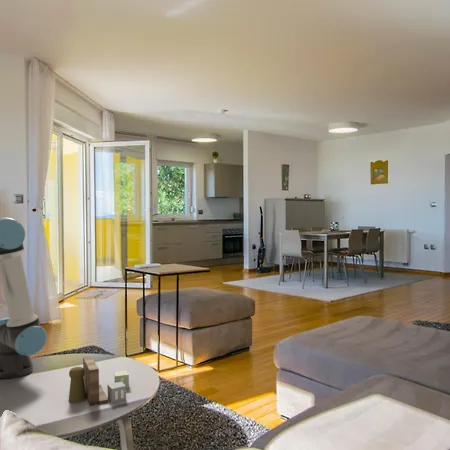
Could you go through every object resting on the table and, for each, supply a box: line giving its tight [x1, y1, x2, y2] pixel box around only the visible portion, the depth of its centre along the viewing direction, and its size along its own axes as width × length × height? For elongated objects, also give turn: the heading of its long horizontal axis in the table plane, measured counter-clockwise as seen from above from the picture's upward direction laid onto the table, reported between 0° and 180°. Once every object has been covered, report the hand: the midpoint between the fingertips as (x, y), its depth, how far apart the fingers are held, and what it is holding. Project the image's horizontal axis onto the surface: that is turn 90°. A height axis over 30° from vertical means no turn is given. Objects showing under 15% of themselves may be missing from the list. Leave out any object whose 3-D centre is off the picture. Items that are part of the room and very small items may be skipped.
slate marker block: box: [106, 382, 127, 404], centre depth 155 cm, size 5×5×5 cm
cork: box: [68, 366, 88, 404], centre depth 156 cm, size 6×6×11 cm
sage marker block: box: [114, 370, 130, 389], centre depth 167 cm, size 5×5×5 cm
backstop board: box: [82, 355, 109, 407], centre depth 158 cm, size 16×6×12 cm, turn 25°
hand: (3, 307), depth 158 cm, fingers closed
